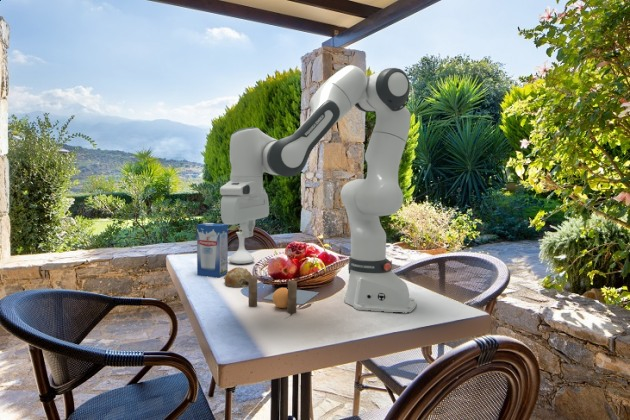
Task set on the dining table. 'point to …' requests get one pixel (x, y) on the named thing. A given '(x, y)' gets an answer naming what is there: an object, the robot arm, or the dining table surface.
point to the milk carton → (212, 249)
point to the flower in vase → (240, 250)
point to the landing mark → (298, 296)
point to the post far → (252, 291)
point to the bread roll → (237, 277)
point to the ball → (281, 297)
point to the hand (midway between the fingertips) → (247, 236)
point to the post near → (292, 296)
